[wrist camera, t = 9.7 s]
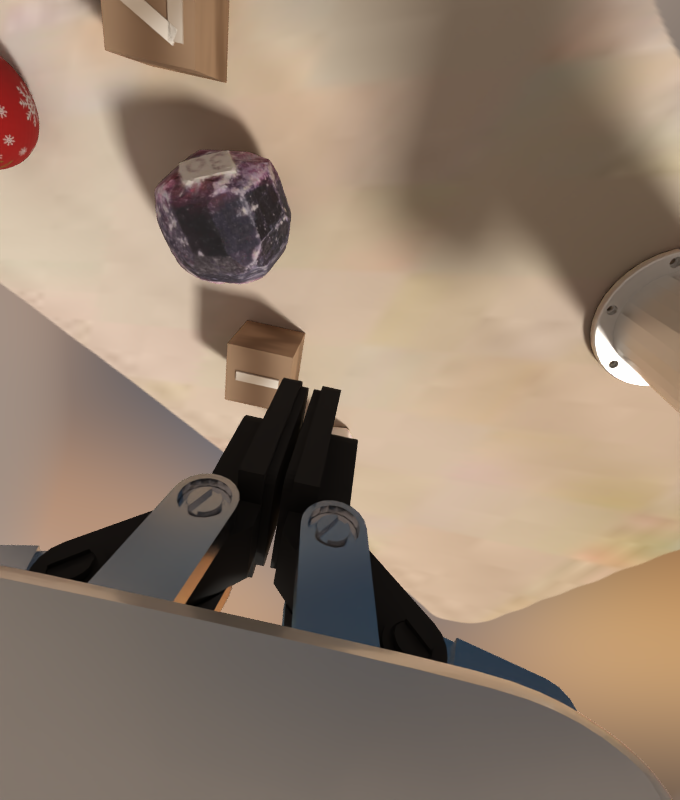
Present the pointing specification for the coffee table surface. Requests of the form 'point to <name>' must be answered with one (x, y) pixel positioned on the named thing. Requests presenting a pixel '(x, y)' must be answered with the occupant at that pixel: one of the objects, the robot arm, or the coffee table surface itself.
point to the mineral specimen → (224, 215)
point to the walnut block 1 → (261, 362)
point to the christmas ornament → (16, 118)
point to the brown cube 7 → (170, 34)
